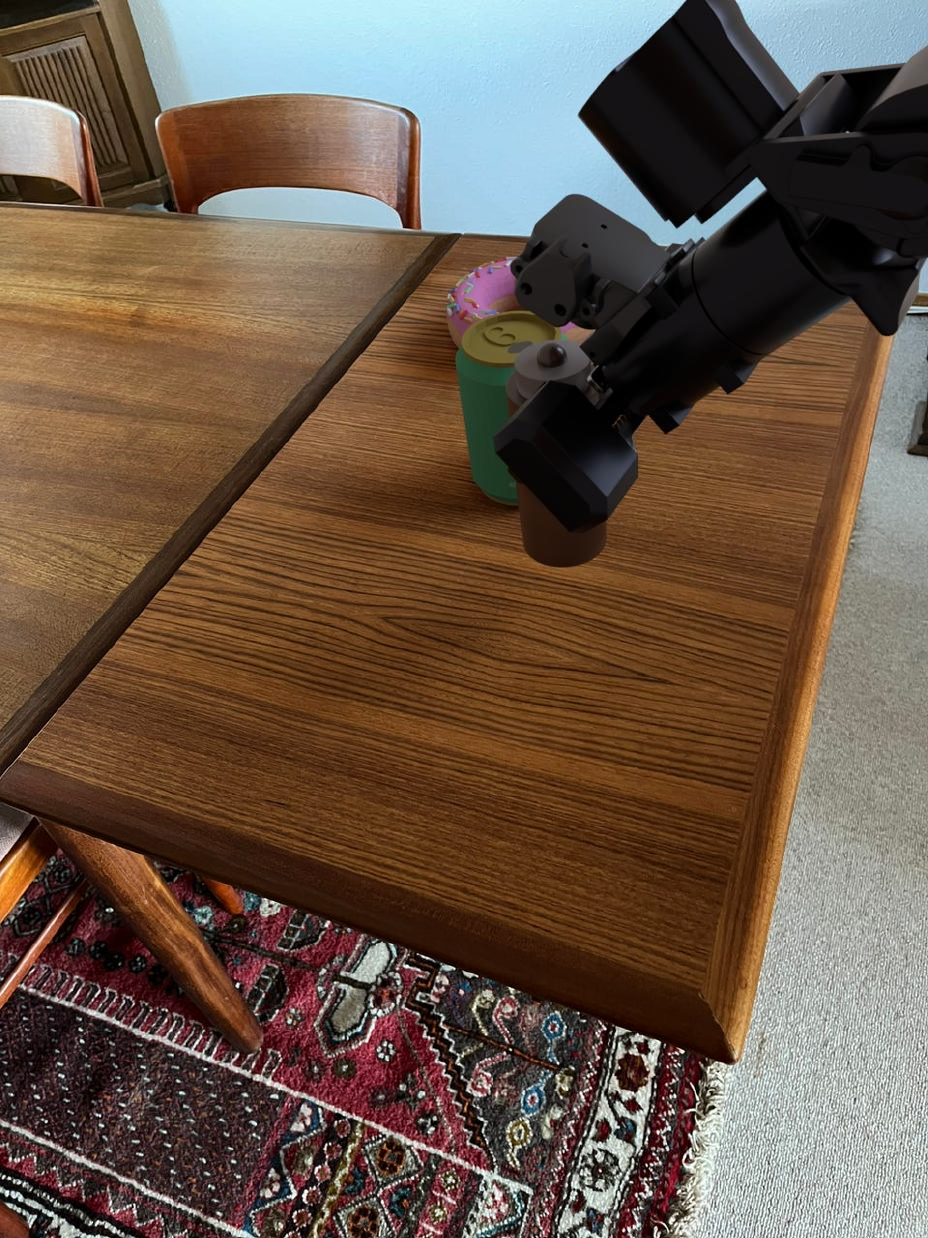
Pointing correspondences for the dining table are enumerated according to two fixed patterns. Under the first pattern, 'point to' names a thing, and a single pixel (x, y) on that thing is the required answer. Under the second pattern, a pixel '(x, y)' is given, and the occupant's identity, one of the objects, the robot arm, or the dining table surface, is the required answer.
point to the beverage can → (494, 390)
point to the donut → (490, 300)
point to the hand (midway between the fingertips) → (537, 447)
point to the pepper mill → (537, 523)
